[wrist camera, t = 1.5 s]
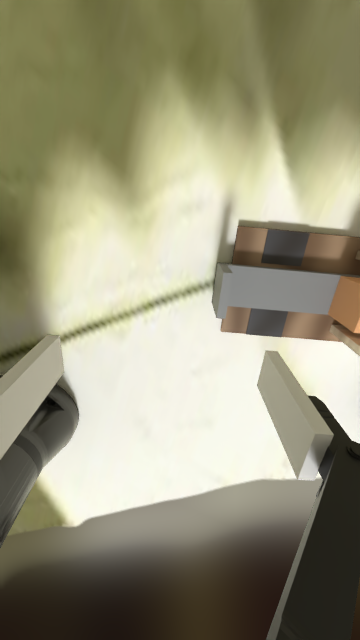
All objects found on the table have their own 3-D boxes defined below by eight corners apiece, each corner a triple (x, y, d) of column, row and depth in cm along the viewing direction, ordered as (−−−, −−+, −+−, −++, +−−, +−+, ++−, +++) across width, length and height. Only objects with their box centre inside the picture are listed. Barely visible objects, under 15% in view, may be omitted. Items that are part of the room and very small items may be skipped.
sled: (211, 302, 34) (217, 322, 28) (217, 262, 32) (225, 274, 26) (367, 315, 34) (406, 338, 28) (383, 277, 32) (428, 293, 26)
